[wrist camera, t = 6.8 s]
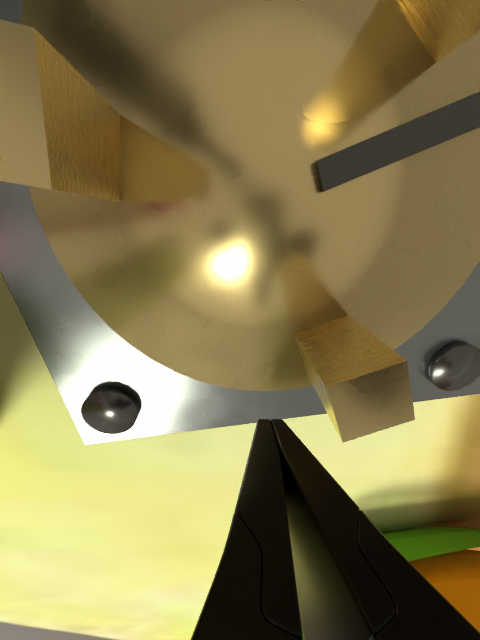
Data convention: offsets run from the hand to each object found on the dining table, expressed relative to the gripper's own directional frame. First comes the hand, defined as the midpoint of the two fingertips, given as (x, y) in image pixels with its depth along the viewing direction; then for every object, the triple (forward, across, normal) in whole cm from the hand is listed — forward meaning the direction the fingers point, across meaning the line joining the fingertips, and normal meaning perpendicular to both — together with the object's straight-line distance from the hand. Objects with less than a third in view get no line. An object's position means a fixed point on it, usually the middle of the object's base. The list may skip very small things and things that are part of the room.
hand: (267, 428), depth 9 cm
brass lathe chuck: (+3, 0, -8) cm, 8 cm away
